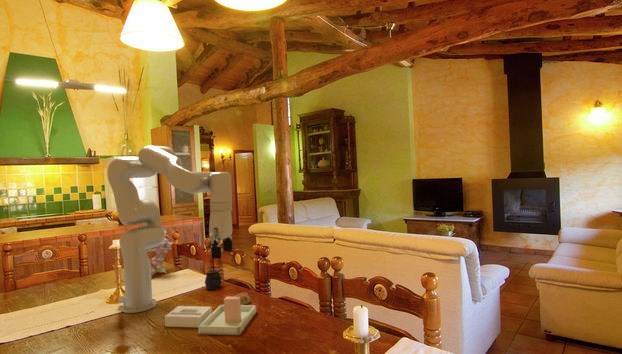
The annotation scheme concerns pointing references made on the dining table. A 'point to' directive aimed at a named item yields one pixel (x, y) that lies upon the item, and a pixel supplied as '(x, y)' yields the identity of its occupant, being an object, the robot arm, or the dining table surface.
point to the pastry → (243, 298)
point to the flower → (159, 258)
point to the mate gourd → (213, 279)
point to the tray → (220, 327)
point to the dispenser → (187, 316)
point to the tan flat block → (232, 309)
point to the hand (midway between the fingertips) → (222, 254)
